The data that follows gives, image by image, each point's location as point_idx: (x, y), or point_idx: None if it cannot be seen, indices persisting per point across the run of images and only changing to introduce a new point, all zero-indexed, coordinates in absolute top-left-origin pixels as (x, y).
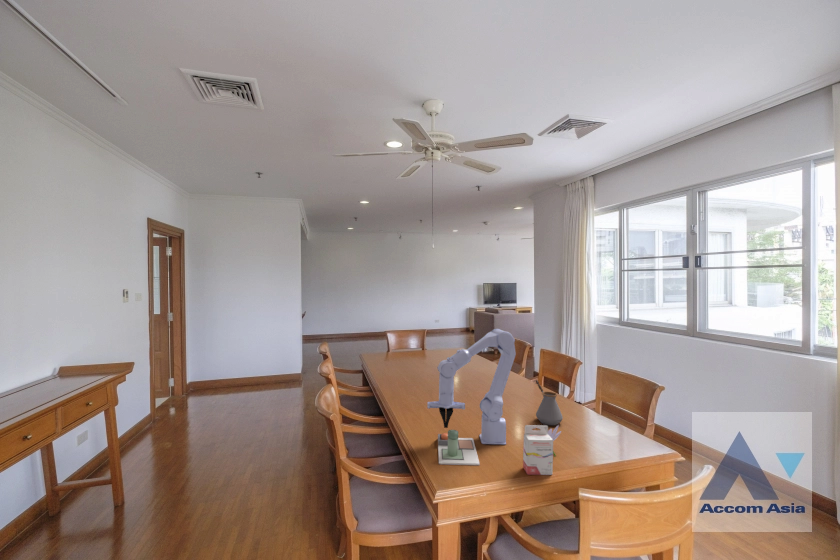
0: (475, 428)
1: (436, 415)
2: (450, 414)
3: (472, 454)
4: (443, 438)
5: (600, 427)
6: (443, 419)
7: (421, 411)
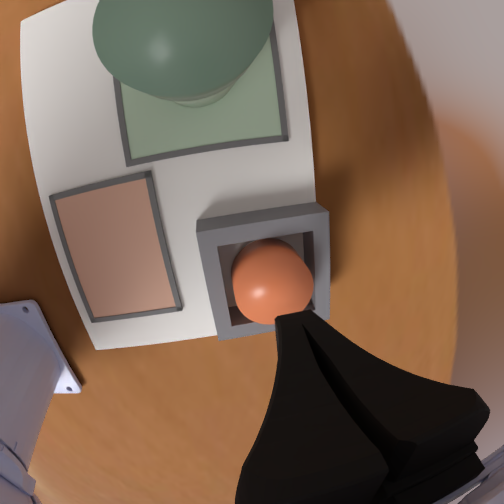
0: (127, 440)
1: None
2: (280, 441)
3: (53, 118)
4: (289, 250)
5: None
6: (362, 357)
7: None
